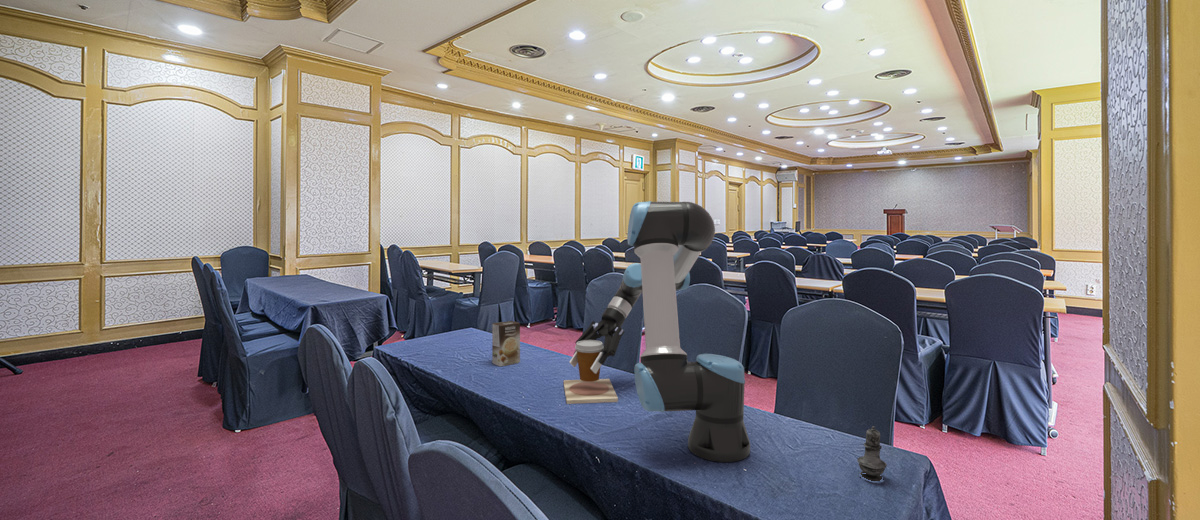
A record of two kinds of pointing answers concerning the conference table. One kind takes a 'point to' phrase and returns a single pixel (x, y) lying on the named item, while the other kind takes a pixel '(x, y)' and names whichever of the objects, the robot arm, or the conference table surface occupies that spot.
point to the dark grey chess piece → (872, 457)
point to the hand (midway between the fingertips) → (582, 367)
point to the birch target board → (589, 391)
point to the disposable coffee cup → (588, 358)
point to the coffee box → (505, 343)
